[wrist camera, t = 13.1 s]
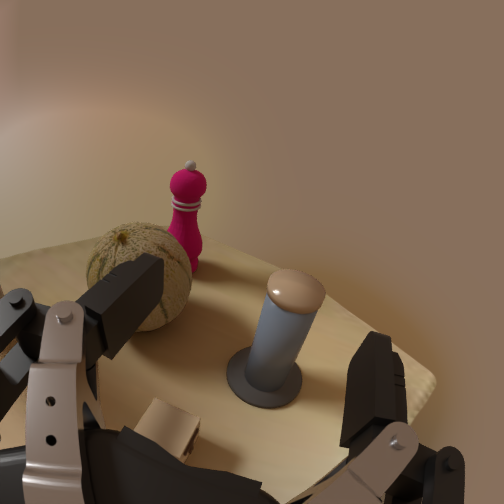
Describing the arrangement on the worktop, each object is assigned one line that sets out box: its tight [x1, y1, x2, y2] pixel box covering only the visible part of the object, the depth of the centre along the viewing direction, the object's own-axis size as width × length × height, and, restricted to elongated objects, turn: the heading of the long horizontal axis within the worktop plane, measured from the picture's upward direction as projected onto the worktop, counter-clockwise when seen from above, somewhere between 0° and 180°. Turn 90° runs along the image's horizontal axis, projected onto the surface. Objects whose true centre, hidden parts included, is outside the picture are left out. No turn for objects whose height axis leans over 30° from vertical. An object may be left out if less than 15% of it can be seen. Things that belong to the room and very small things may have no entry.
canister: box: [244, 269, 326, 392], centre depth 32 cm, size 6×6×15 cm
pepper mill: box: [167, 160, 207, 273], centre depth 49 cm, size 7×7×20 cm
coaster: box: [227, 347, 302, 408], centre depth 36 cm, size 10×10×1 cm
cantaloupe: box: [86, 222, 192, 332], centre depth 37 cm, size 15×15×15 cm
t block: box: [133, 397, 200, 464], centre depth 24 cm, size 5×5×5 cm
